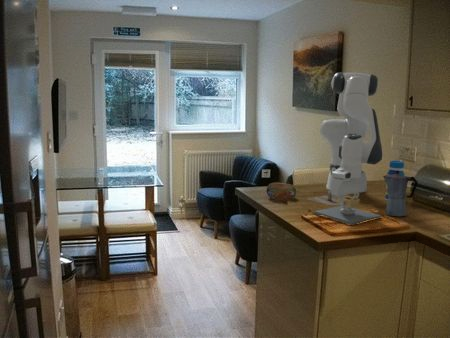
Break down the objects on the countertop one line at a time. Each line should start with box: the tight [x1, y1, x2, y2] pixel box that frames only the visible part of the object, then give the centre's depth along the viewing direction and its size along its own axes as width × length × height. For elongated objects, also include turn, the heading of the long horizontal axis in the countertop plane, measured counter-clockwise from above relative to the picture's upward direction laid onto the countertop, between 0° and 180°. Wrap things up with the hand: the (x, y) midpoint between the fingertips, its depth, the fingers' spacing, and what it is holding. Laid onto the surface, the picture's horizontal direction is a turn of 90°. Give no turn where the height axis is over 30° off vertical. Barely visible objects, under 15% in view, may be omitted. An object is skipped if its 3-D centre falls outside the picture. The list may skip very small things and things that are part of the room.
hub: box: [313, 205, 382, 226], centre depth 191 cm, size 20×20×8 cm
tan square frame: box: [336, 195, 361, 208], centre depth 191 cm, size 7×7×3 cm
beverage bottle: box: [384, 160, 406, 201], centre depth 223 cm, size 8×8×20 cm
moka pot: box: [382, 170, 419, 217], centre depth 195 cm, size 10×15×20 cm, turn 51°
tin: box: [266, 182, 297, 202], centre depth 219 cm, size 15×3×8 cm, turn 62°
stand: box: [307, 190, 338, 207], centre depth 214 cm, size 16×16×6 cm
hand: (348, 203), depth 191 cm, fingers closed on tan square frame, 7 cm apart
